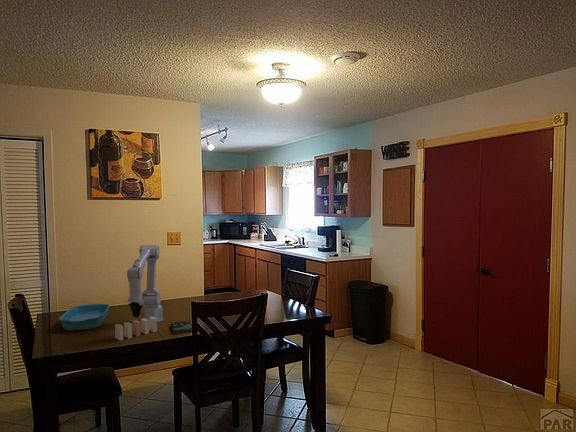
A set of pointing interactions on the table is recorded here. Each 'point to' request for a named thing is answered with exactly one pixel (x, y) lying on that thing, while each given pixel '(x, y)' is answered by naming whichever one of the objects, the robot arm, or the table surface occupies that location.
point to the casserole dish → (84, 316)
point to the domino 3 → (136, 328)
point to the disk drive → (181, 327)
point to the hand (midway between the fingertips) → (136, 316)
